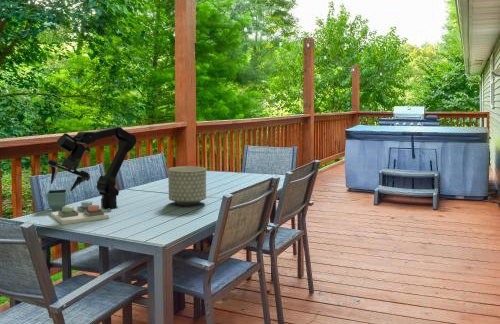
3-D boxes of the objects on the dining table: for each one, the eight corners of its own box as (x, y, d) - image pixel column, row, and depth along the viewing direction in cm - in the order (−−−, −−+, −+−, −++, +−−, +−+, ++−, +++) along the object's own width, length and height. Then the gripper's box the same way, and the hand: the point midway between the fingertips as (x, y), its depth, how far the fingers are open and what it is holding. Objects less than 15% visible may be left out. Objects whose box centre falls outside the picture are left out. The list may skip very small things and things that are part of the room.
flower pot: (47, 212, 240) (46, 193, 239) (49, 208, 248) (48, 190, 247) (66, 211, 242) (66, 192, 241) (68, 207, 251) (67, 189, 249)
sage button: (72, 210, 231) (71, 205, 230) (75, 212, 227) (74, 207, 226) (61, 212, 228) (60, 206, 228) (64, 214, 224) (63, 208, 224)
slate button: (90, 206, 240) (90, 200, 240) (93, 207, 237) (93, 202, 236) (80, 207, 238) (79, 202, 237) (83, 209, 234) (83, 203, 233)
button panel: (94, 210, 244) (93, 203, 244) (108, 218, 228) (108, 211, 228) (51, 215, 233) (50, 209, 232) (63, 224, 217) (63, 217, 216)
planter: (199, 208, 248) (199, 172, 246) (163, 206, 252) (162, 170, 250) (210, 200, 267) (210, 166, 264) (176, 199, 270) (175, 165, 268)
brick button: (97, 209, 232) (97, 204, 232) (100, 211, 228) (100, 206, 228) (86, 211, 230) (86, 205, 229) (90, 213, 226) (90, 207, 225)
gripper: (53, 143, 224) (37, 175, 219) (93, 159, 226) (78, 191, 221) (57, 150, 235) (42, 181, 230) (95, 165, 236) (81, 196, 231)
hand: (61, 187), depth 228 cm, fingers open, 9 cm apart
